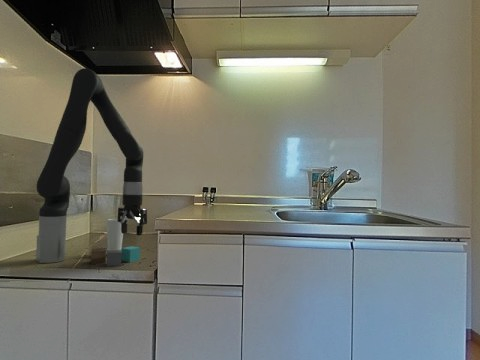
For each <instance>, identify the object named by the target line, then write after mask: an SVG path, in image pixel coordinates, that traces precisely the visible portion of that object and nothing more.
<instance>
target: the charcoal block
mask: <svg viewBox="0 0 480 360" xmlns="http://www.w3.org/2000/svg"><path fill="white" fill-rule="evenodd" d="M121 250H122V249H121ZM121 250H108V249H106V267H109V268H110V267H121V266H122V261H121Z"/></svg>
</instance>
